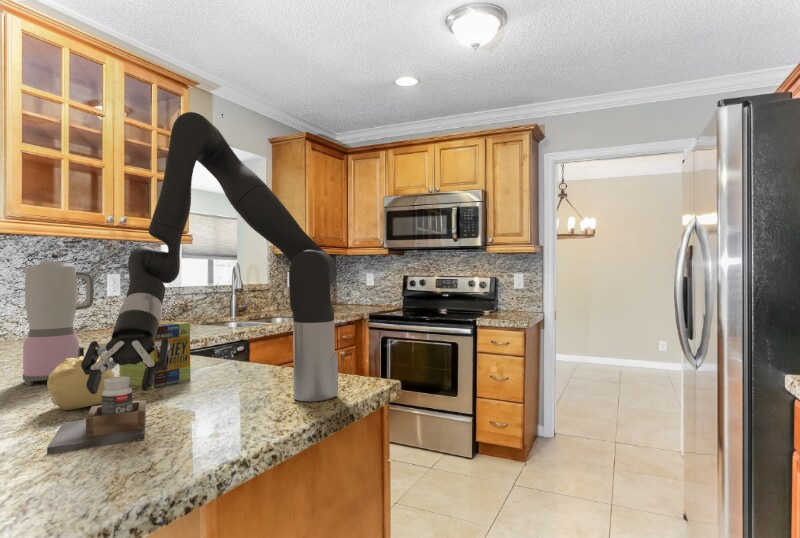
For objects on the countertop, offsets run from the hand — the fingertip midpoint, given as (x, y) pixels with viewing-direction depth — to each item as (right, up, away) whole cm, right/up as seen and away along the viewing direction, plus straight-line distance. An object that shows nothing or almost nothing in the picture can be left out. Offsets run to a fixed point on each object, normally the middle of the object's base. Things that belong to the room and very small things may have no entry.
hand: (118, 390), depth 84 cm
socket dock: (-2, -7, -1) cm, 8 cm away
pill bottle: (0, -6, 0) cm, 7 cm away
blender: (-42, -8, +43) cm, 60 cm away
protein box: (-14, -8, +39) cm, 42 cm away
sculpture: (-18, -8, +16) cm, 25 cm away
